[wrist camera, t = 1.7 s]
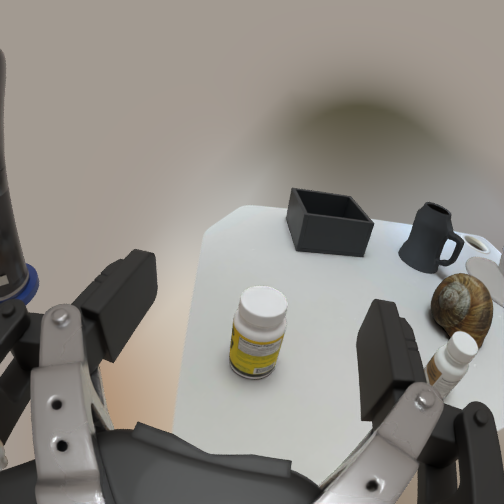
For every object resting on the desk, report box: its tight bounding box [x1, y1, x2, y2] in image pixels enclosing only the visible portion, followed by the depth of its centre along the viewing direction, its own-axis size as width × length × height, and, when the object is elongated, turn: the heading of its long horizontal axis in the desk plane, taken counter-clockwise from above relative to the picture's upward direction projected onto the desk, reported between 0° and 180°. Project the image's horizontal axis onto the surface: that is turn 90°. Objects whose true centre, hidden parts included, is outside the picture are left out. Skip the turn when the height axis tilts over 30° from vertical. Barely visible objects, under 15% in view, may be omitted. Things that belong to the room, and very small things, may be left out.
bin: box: [286, 188, 374, 257], centre depth 53 cm, size 12×12×7 cm
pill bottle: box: [424, 331, 478, 399], centre depth 25 cm, size 4×4×8 cm
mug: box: [398, 202, 465, 273], centre depth 49 cm, size 12×9×11 cm
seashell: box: [431, 273, 493, 348], centre depth 34 cm, size 11×9×8 cm
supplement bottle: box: [229, 286, 288, 379], centre depth 27 cm, size 5×5×8 cm
